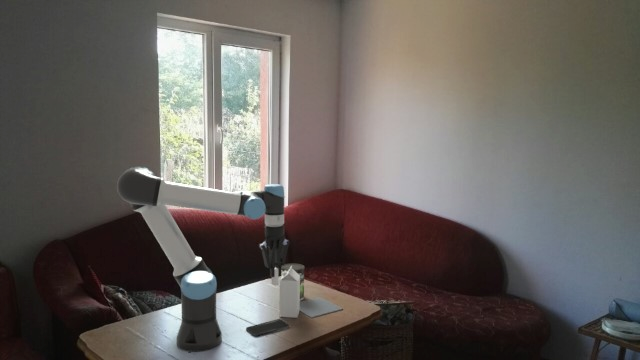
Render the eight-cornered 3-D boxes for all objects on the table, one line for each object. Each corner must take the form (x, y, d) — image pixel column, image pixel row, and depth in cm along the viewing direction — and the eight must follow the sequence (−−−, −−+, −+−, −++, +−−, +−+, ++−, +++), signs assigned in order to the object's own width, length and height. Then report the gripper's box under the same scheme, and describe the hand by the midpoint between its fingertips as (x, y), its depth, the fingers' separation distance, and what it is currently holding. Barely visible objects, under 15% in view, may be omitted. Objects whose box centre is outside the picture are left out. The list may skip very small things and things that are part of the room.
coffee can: (308, 298, 207) (309, 267, 205) (288, 303, 201) (289, 271, 199) (295, 292, 215) (296, 261, 214) (276, 296, 209) (276, 265, 207)
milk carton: (299, 311, 193) (300, 266, 191) (297, 318, 186) (297, 271, 184) (282, 310, 193) (282, 265, 191) (279, 317, 186) (279, 270, 184)
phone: (244, 327, 174) (279, 318, 183) (244, 330, 174) (279, 321, 183) (255, 335, 168) (290, 325, 177) (255, 338, 168) (290, 328, 177)
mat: (311, 318, 186) (311, 317, 186) (289, 305, 199) (289, 304, 199) (342, 309, 195) (343, 308, 195) (320, 297, 208) (320, 296, 208)
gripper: (264, 228, 174) (265, 290, 177) (294, 224, 182) (294, 283, 184) (254, 225, 180) (255, 284, 183) (284, 221, 188) (284, 278, 190)
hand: (275, 284), depth 184 cm, fingers closed
